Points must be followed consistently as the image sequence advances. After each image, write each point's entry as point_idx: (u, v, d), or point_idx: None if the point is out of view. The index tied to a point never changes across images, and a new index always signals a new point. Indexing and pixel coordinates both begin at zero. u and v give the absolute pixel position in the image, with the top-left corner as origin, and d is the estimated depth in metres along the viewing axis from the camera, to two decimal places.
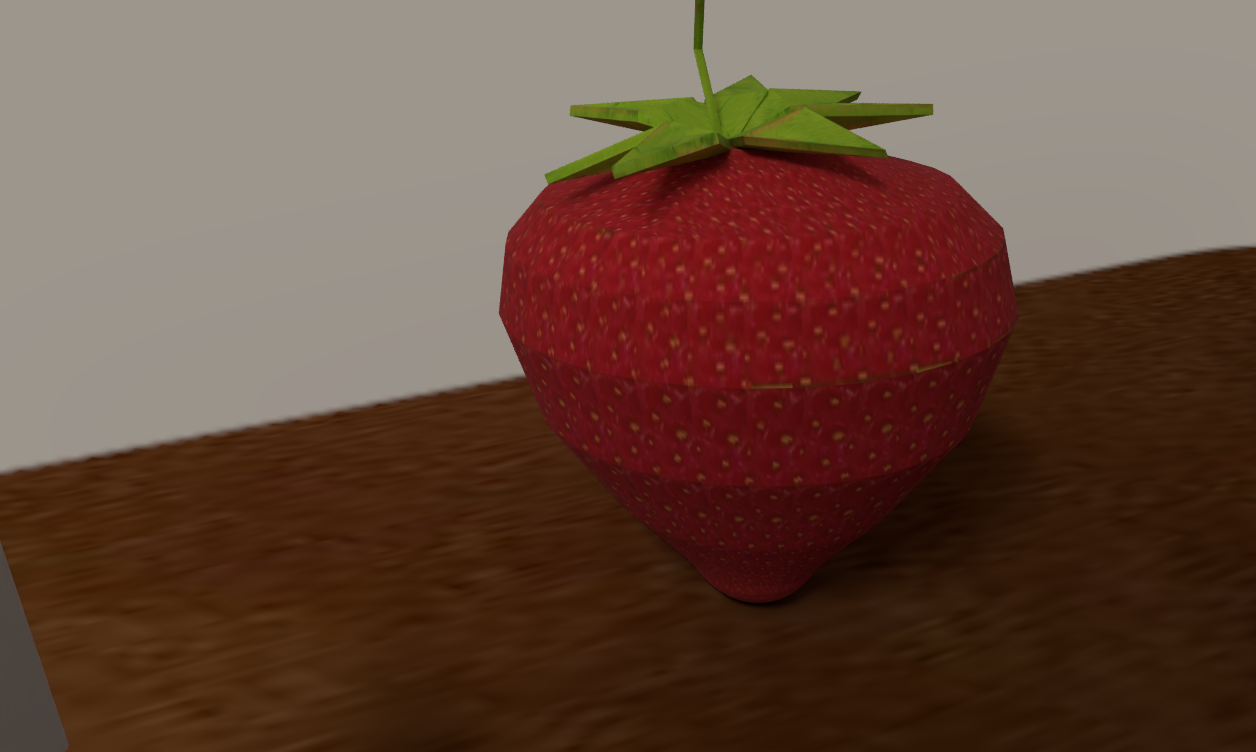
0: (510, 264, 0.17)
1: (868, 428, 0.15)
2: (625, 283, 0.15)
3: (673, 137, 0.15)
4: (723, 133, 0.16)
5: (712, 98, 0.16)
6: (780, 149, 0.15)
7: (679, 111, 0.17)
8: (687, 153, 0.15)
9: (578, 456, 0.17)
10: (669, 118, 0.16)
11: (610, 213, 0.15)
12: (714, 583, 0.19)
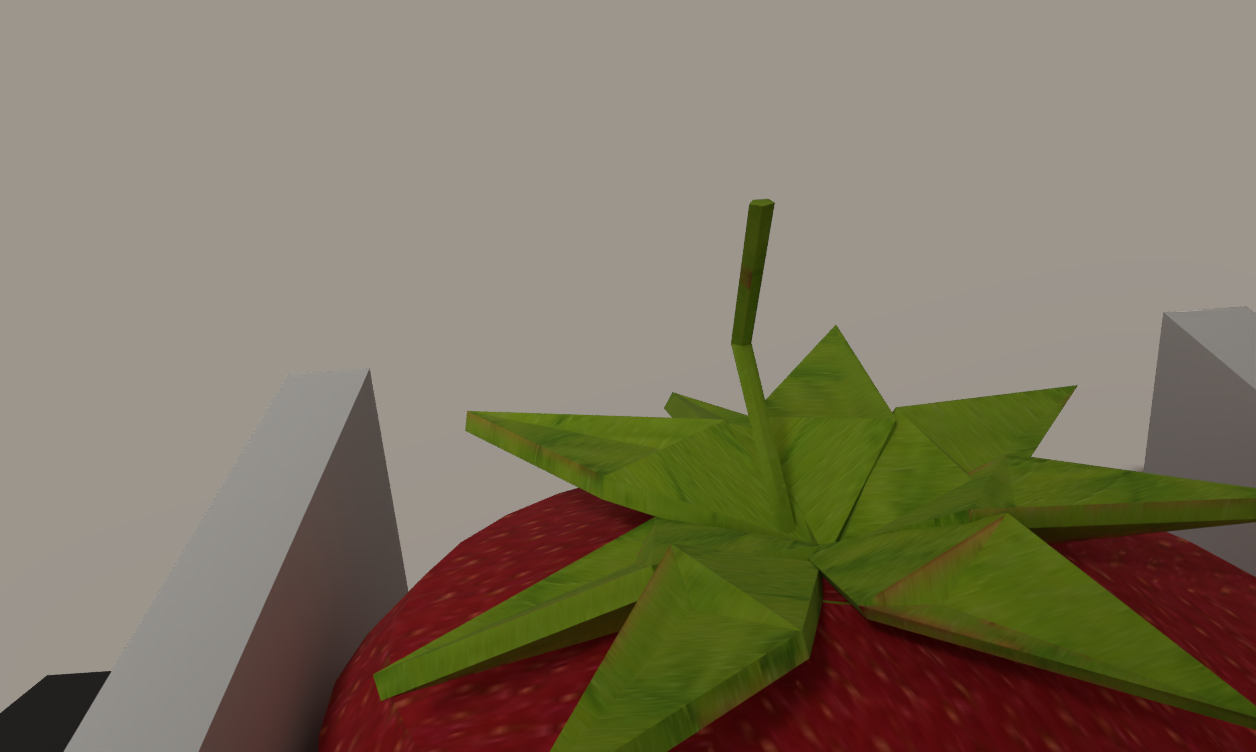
0: None
1: None
2: None
3: (687, 613, 0.06)
4: (797, 526, 0.07)
5: (773, 451, 0.07)
6: None
7: (696, 467, 0.07)
8: (727, 709, 0.05)
9: None
10: (674, 492, 0.07)
11: None
12: None
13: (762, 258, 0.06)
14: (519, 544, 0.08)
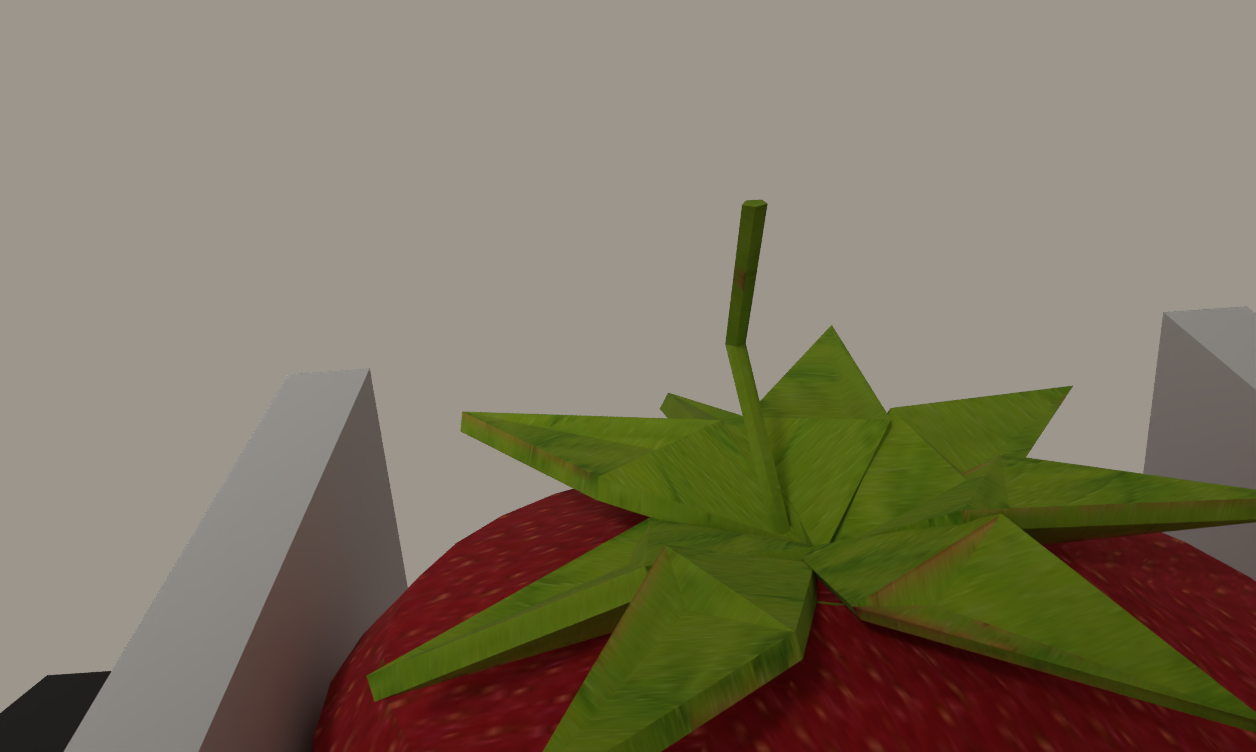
0: None
1: None
2: None
3: (681, 613, 0.06)
4: (792, 526, 0.07)
5: (768, 451, 0.07)
6: None
7: (691, 468, 0.07)
8: (720, 710, 0.05)
9: None
10: (669, 492, 0.07)
11: None
12: None
13: (756, 258, 0.06)
14: (514, 545, 0.08)
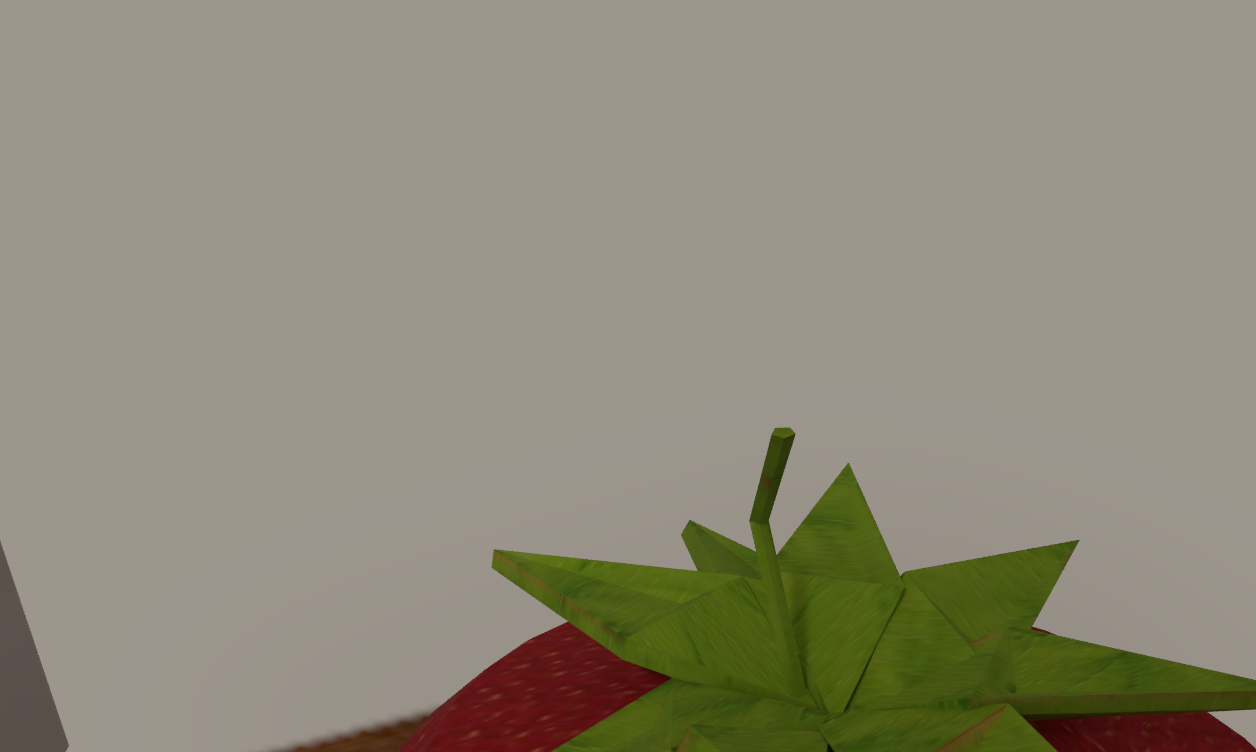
0: None
1: None
2: None
3: None
4: (808, 690, 0.08)
5: (787, 620, 0.07)
6: None
7: (714, 628, 0.08)
8: None
9: None
10: (692, 655, 0.08)
11: None
12: None
13: (782, 469, 0.06)
14: (541, 680, 0.09)
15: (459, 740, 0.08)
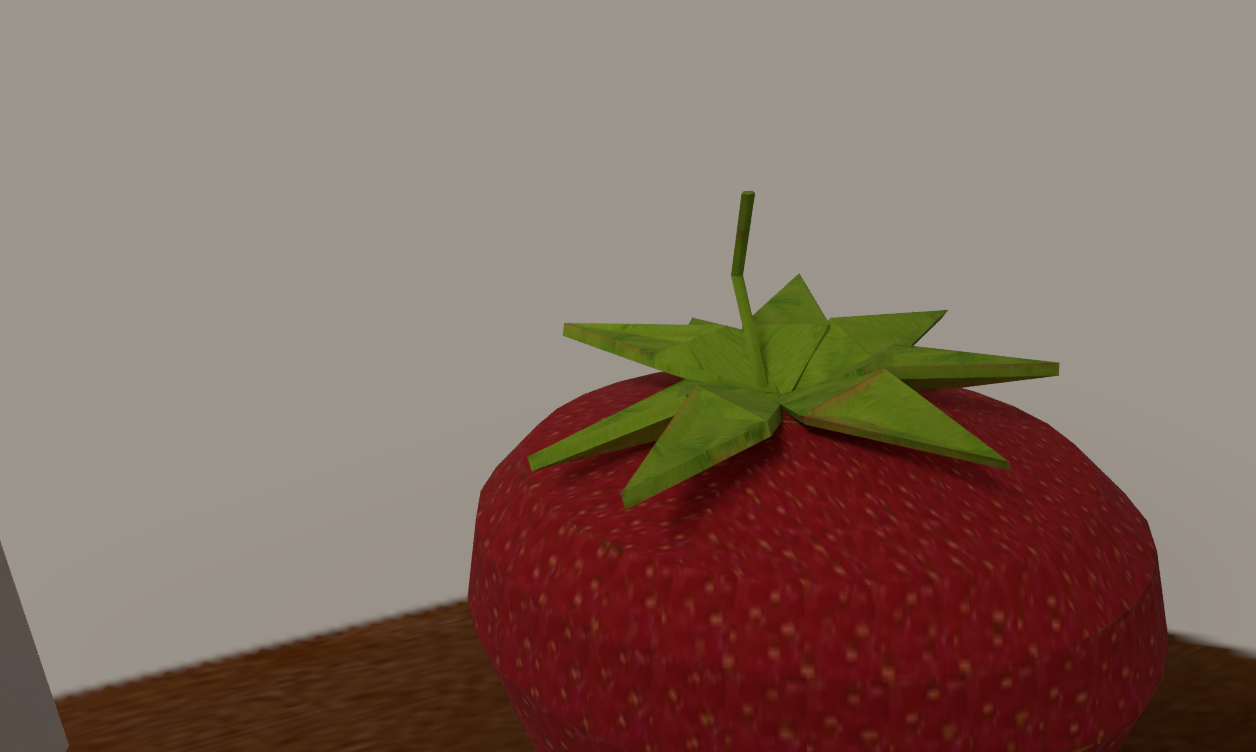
0: (481, 553, 0.12)
1: None
2: (639, 629, 0.11)
3: (705, 417, 0.11)
4: (769, 385, 0.12)
5: (755, 339, 0.12)
6: None
7: (709, 351, 0.12)
8: (727, 457, 0.10)
9: None
10: (696, 364, 0.12)
11: (617, 513, 0.11)
12: None
13: (749, 223, 0.11)
14: (597, 405, 0.13)
15: (546, 437, 0.13)
